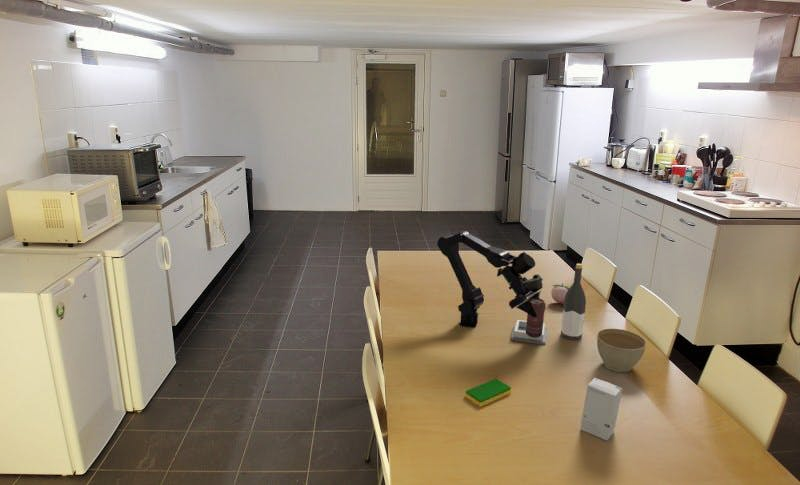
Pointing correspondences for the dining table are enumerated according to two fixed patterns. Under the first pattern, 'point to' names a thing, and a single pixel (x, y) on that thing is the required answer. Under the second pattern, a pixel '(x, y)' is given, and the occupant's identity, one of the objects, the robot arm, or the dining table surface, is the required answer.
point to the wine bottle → (574, 308)
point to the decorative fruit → (559, 292)
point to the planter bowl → (620, 349)
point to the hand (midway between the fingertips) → (539, 314)
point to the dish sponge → (488, 392)
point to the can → (536, 318)
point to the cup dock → (521, 335)
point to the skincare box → (601, 408)
